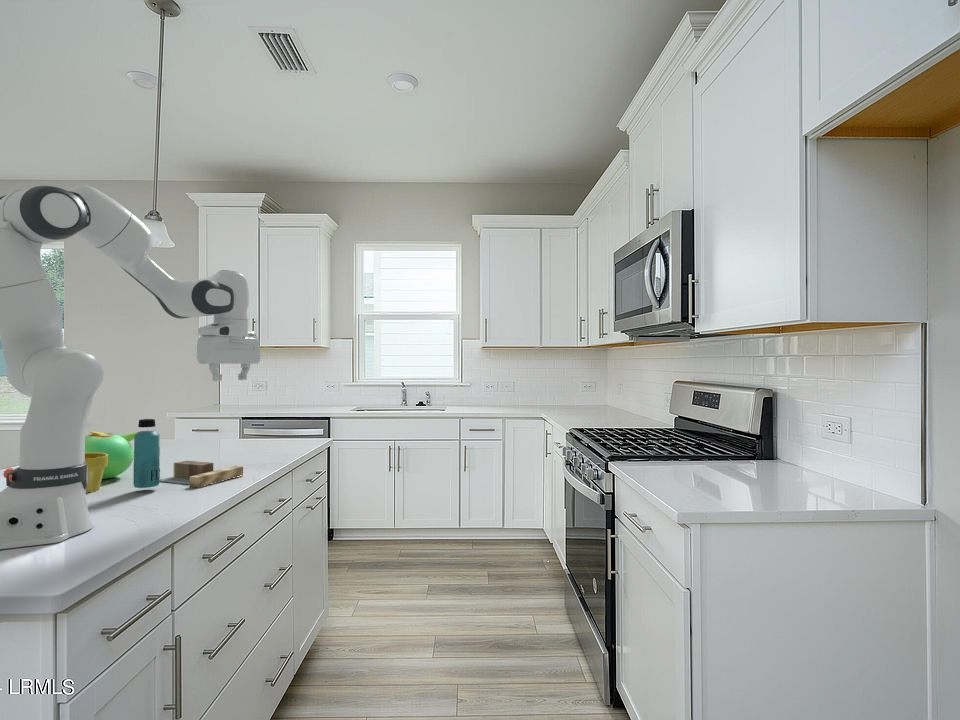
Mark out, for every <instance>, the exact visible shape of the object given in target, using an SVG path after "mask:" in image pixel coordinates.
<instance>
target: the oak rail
mask: <svg viewBox="0 0 960 720" xmlns="http://www.w3.org/2000/svg"><path fill="white" fill-rule="evenodd" d="M240 475H243V476H244V466H241V465H233V466H230V467H226V468H221V469H217V470H213V471H212V472H207V473H203V474H199V475H195V476H190V484H189V485H188V487H189V488H193V487H197V488H196V489H198V487H200V488H202V487H201V486H203V487H205V486H204V485H207V486H209V485H208V484H211V483H215V482H218V481H222V480H226V479H229V478H233V477H237V476H240ZM226 481H227V480H226ZM215 484H216V483H215ZM211 485H212V484H211Z"/></svg>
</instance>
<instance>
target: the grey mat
mask: <svg viewBox="0 0 960 720" xmlns="http://www.w3.org/2000/svg"><path fill="white" fill-rule="evenodd" d="M167 482H168V483H167ZM159 483H167V484H169V483H170V484H176V483H177V485H178V484H179V485H184V484H188V485H187V486H189V484H190V479H184V478H174V477H173V476H170V477H165V478H159Z"/></svg>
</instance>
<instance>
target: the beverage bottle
mask: <svg viewBox="0 0 960 720" xmlns="http://www.w3.org/2000/svg"><path fill="white" fill-rule="evenodd" d="M154 427H156V420H155V418H143V419H142V418H141V419H139V420H138V428H154ZM137 432H138V433H136V434H135V435H134V439H133V450H134V458H133V470H132V471H133V487H134V488H137V489H146V488H147V489H148V488H154V487H158V486H159V485H160V482H159V480H160V478H161V477H160V476H161V468H160V462H161V461H160V457H161V451H160V450H161V447H160V446H161V445H160V436H161V435H160V433H159V432H157V431H156V430H140V431H137Z"/></svg>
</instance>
